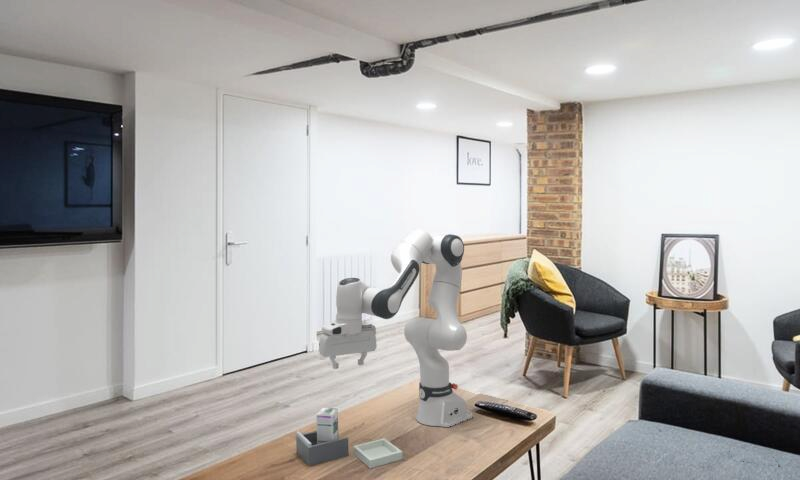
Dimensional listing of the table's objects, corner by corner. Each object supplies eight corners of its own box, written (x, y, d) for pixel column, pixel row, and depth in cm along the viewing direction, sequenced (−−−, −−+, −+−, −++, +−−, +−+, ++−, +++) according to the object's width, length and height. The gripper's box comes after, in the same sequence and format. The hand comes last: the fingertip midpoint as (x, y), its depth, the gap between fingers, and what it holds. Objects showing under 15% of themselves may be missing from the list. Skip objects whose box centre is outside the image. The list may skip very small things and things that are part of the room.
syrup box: (333, 457, 182) (333, 414, 181) (316, 455, 183) (316, 413, 182) (338, 449, 188) (338, 408, 187) (322, 448, 189) (321, 406, 188)
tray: (384, 445, 191) (384, 438, 191) (402, 459, 181) (402, 451, 180) (353, 453, 185) (353, 446, 185) (370, 468, 174) (370, 460, 174)
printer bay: (334, 443, 193) (334, 423, 192) (348, 455, 183) (348, 434, 183) (296, 452, 185) (296, 431, 185) (308, 466, 176) (308, 444, 176)
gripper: (371, 322, 195) (370, 360, 195) (317, 327, 184) (317, 368, 185) (380, 325, 189) (379, 365, 190) (325, 330, 179) (324, 372, 180)
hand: (348, 366), depth 187 cm, fingers open, 8 cm apart
